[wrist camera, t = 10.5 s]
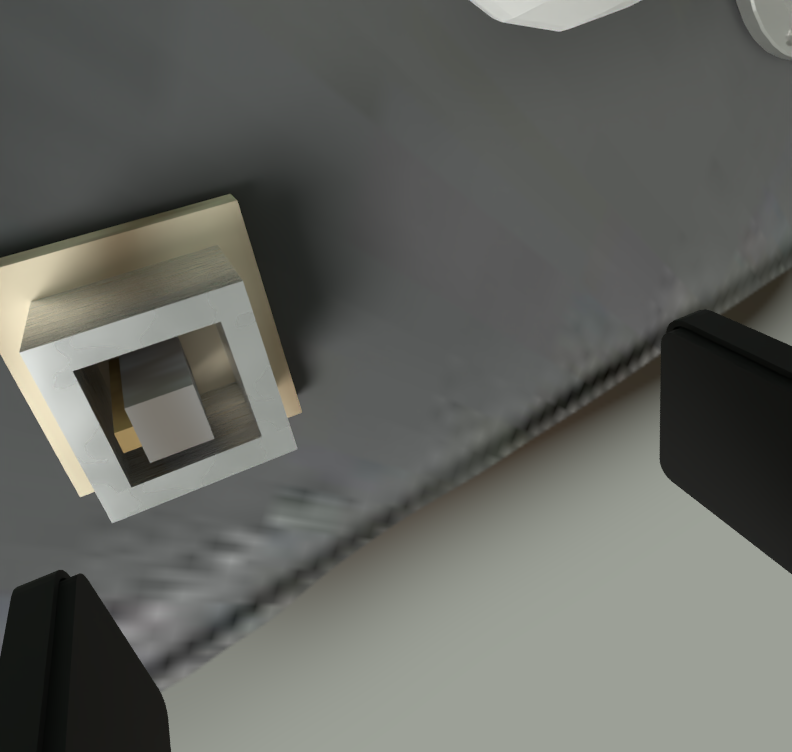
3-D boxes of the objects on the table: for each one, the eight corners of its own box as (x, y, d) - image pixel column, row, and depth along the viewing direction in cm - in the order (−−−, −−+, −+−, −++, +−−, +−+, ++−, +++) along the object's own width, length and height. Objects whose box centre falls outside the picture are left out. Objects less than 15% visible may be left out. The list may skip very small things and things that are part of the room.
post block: (230, 193, 26) (274, 235, 20) (293, 398, 31) (344, 481, 25) (-35, 267, 24) (-78, 341, 18) (80, 478, 29) (78, 593, 23)
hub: (217, 244, 26) (242, 280, 21) (267, 393, 29) (297, 449, 25) (30, 301, 24) (19, 352, 20) (108, 452, 27) (112, 523, 23)
